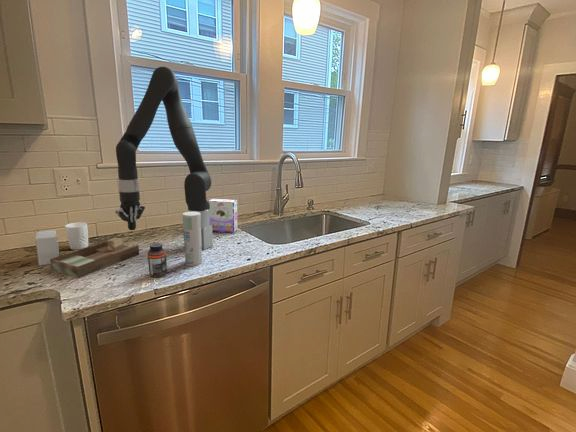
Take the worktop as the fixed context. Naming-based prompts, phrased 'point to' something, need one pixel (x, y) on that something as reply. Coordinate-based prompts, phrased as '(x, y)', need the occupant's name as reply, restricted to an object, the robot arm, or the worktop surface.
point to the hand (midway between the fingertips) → (132, 229)
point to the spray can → (192, 238)
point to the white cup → (77, 235)
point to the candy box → (223, 215)
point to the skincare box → (46, 246)
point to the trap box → (91, 259)
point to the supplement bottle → (157, 260)
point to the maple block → (115, 244)
